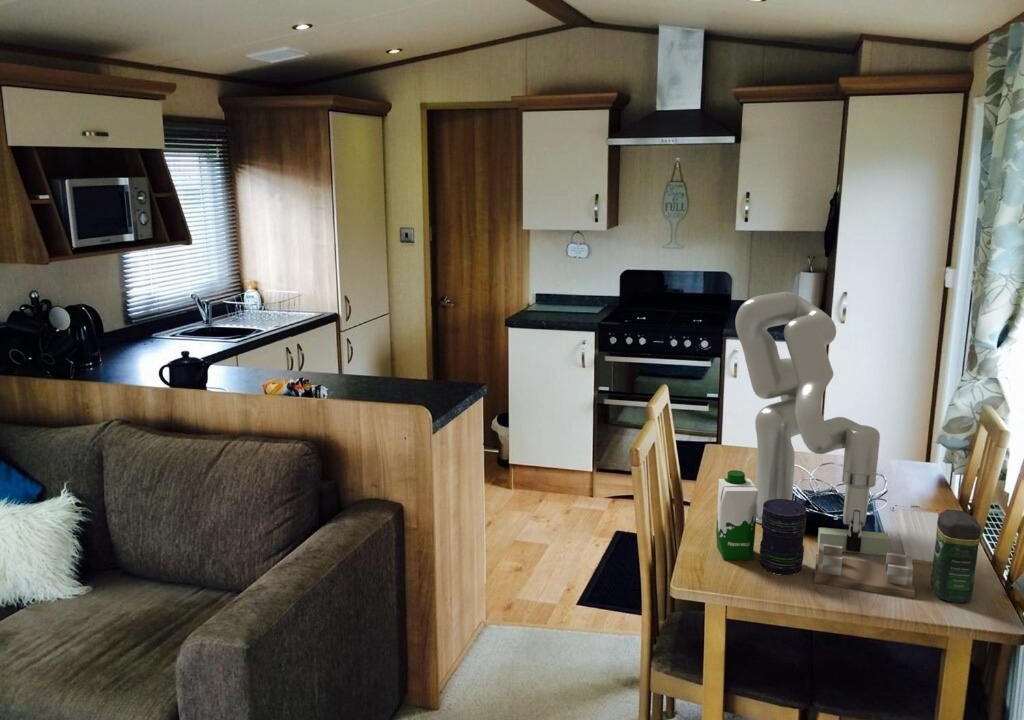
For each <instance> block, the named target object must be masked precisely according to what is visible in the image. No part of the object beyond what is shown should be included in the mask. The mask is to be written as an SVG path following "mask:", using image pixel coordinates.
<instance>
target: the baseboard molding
mask: <svg viewBox="0 0 1024 720" xmlns="http://www.w3.org/2000/svg"><path fill="white" fill-rule="evenodd" d="M894 506H895V507H897V504H895V505H894ZM894 506H892V507H891V508H889V509H890V511H892V512H894V514H895V520H896V524H897V528H898V532H899V536H900V539H901V540H900V541H901V543H902V544H901V545H902V549H903V552H904V554H903V555H908V556H911V560H912V564H913V563H914V564H921V565H922V564H923V565H929V566H930V565H931V566H933V559H934V551H935V543H936V533H937V521H938V517H939V514H938V510H939V509H936V512H931V509H930V508H927V511H923V508H921V506H920V505H911V506H910V508H918V509H919V510H911V509H905V506H903V505H902V506H901V507H902V508H900V509H897V510H896V509H895V508H894ZM903 507H904V508H903ZM891 509H892V510H891ZM921 510H922V511H921ZM928 510H930V511H928Z"/></svg>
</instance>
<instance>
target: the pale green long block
mask: <svg viewBox="0 0 1024 720" xmlns="http://www.w3.org/2000/svg"><path fill="white" fill-rule="evenodd" d="M817 534H818V535H817V546H818V548H819V544H820V543H821V544H828V545H836V546H842V552H845V553H846V552H847V553H855V554H856V553H857V554H865V555H866V554H869V555H879V556H887V553H890V549H891V537H890V535H889V532H876V531H868V530H867V531H866V530H865V531H864V530H861V548H860V552H853V551H847V550H846V543H847V534H849V530H847V529H842V528H841V529H840V528H831V527H830V528H829V527H818V533H817Z"/></svg>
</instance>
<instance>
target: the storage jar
mask: <svg viewBox="0 0 1024 720" xmlns="http://www.w3.org/2000/svg"><path fill="white" fill-rule="evenodd" d="M807 511H808V510H807V507H806V506H805V505H804V504H803V503H801V502H799V501H796V500H793V499H792V500H787V499H772V500H768V501H766V502H764V504H763V514H762V524H761V528H762V537H761V541H760V544H759V547H760V548H759V567H760V568H761V567H762V568H763V569H762V568H761V569H762V570H764V569H765V570H766V571H765V570H764V571H765V572H767V571H768V573H769V572H771V573H770V574H772V573H775V574H774V575H776V574H781V575H780V576H783V575H790V576H794V575H793V574H796V575H798V574H800V573H801V572H802V571H803V561H804V552H805V547H804V536H805V535H804V534H805V533H806V530H807V529H806V525H807ZM799 572H800V573H799ZM797 573H798V574H797Z"/></svg>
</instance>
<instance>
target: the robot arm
mask: <svg viewBox="0 0 1024 720" xmlns="http://www.w3.org/2000/svg"><path fill="white" fill-rule="evenodd" d="M734 322H735V323H734V324H735V330H736V333H737V337H738V339H739V342H740V345H741V347H742V351H743V355H744V359H745V363H746V368H747V371H748V376H749V380H750V383H751V388H752V390H753V392H754V394H755V395H756V396H757V397H758V398H759V399H763V400H770V399H771V400H772V399H775V398H779V397H780V400H781V401H777V402H774V403H771V404H768V405H766V406H764V407H762V408H761V409H760V410H759V411H758V413H757V415H756V417H755V423H754V425H755V426H754V427H755V432H756V433H755V434H756V440H757V441H756V443H757V449H756V452H757V453H756V472H755V484H754V485H755V486H756V489H757V490H758V496H757V510H756V524H760V525H762V514H763V504H764V502H766V501H768V500H772V499H787V500H792V501H793V492H794V477H795V460H796V459H795V457H796V454H795V449H794V446H793V443H792V438H793V437H796V436H798V435H800V437H801V439H802V440H803V443H804V445H805V446H806V448H807V449H808V450H809V451H811V452H812V453H814V454H818V455H824V454H828V453H831V452H833V451H837V450H841V449H842V450H843V449H844V451H843V452H844V454H843V464H842V465H843V466H842V476H841V482H842V483H843V484H845V487H844V488H845V489H844V498H843V499H844V501H843V509H842V511H843V512H842V522H843V523H842V524H844V525H847V527H846V530H849V534H847V543H846V550H847V551H853V552H852V553H855V552H860V548H861V531H862V528H863V527H865V525H866V520H867V515H868V514H867V513H868V509H869V508H868V506H869V501H870V500H869V497H870V491H871V490H870V489H871V488H873V487H875V486H876V483H877V472H878V471H877V469H878V461H879V460H878V459H879V452H880V451H879V450H880V441H881V440H880V439H881V436H880V435H881V433H880V432H879V430H878V429H877V428H875V427H872V426H869V425H863V424H860V423H857V422H856V421H854V420H851V419H849V418H847V417H843V416H836V417H833V418H830V419H826V420H825V419H824V415H823V412H822V397H823V394H824V392H825V390H826V388H827V387H828V386H829V384H830V382H831V381H832V379H833V377H834V371H833V370H834V369H833V368H832V365H831V361H830V359H829V355H828V352H827V349H826V346H827V345H829V344H831V343H832V342H834V340H835V338H836V336H837V335H836V334H837V327H836V325H835V322H834V321H833V319H832V318H831V316H829V315H828V314H827V313H826V312H825V311H823V310H822V309H820V308H819V307H818V306H816V305H814V304H813V303H811V302H809V301H808V300H807V299H804V298H803V297H802V296H800V295H799V294H796V293H794V292H791V291H781V292H775V293H774V292H773V293H766V294H762V295H761V294H760V295H757V296H754V297H751V298H749V299H747V300H746V301H744V302H743V303H742V304H741V305H740V306H739V308H738V310H737V312H736V316H735V321H734ZM783 325H784V330H783V337H784V341H785V344H786V346H787V350H788V354H789V358H788V357H785V358H781V357H780V354H779V350H778V345H777V344H776V341H775V339H774V338H773V336H772V334H770V333H769V332H768V329H769V328H773V327H777V326H783Z"/></svg>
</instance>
